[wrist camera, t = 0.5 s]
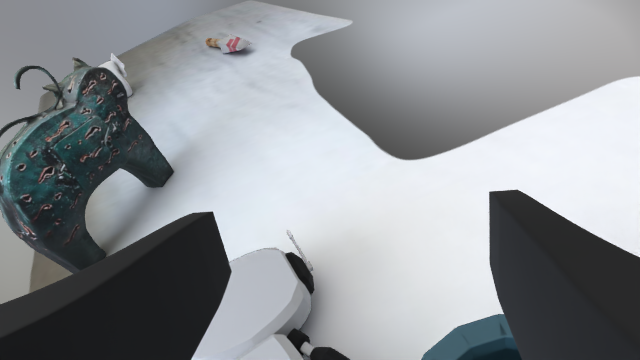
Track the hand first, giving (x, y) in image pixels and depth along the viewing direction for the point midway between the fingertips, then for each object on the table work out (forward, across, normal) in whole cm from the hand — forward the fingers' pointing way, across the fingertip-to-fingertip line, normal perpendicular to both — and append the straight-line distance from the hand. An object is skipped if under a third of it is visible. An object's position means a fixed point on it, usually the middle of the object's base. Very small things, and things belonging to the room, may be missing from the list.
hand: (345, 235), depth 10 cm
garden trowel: (+81, +36, +1) cm, 89 cm away
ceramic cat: (+31, +33, +15) cm, 48 cm away
